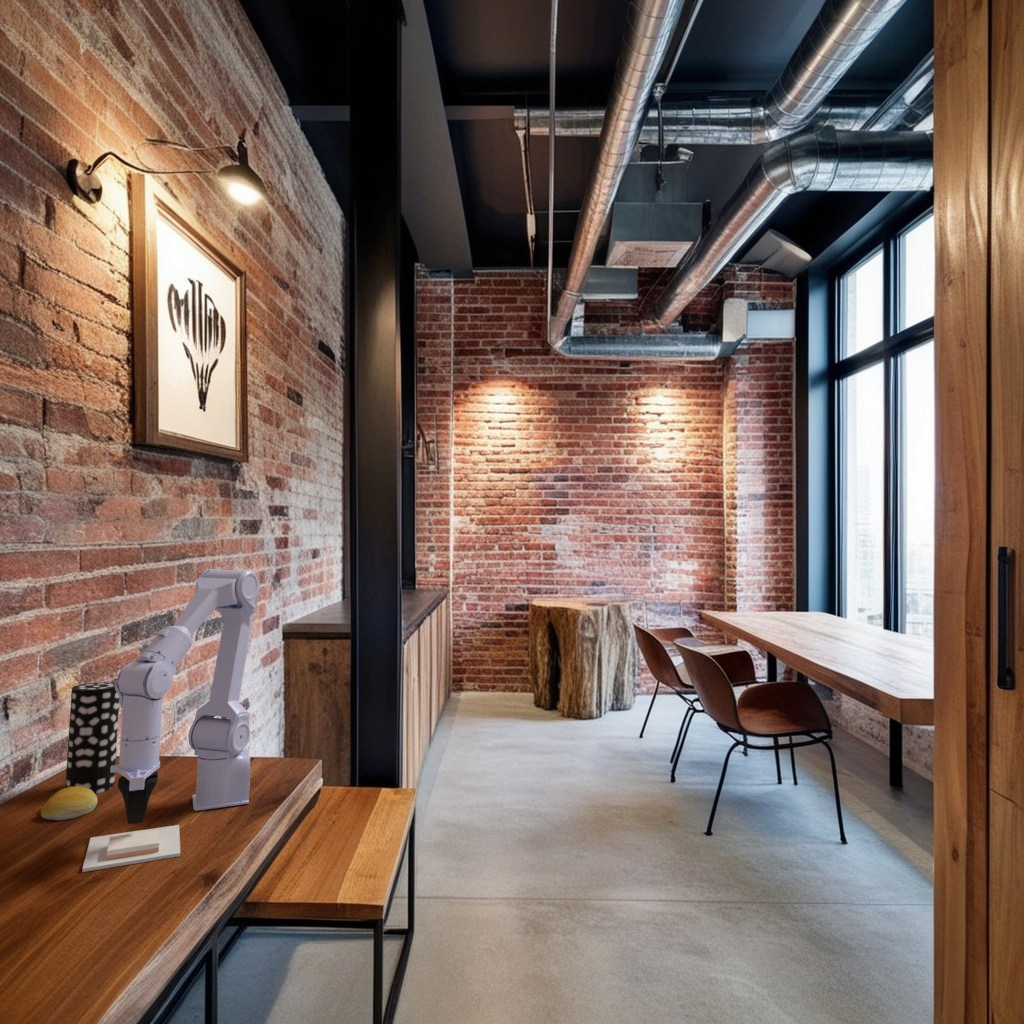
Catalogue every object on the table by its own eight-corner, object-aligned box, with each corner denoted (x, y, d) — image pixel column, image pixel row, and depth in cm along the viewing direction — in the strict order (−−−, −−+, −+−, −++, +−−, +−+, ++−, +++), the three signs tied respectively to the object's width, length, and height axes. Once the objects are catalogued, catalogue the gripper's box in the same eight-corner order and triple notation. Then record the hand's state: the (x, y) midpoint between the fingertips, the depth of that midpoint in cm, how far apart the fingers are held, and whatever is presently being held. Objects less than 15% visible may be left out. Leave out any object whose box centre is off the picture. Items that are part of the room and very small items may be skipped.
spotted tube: (122, 786, 135) (128, 685, 137) (77, 798, 128) (84, 692, 130) (101, 778, 140) (107, 680, 141) (56, 789, 133) (63, 686, 134)
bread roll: (35, 824, 117) (37, 801, 117) (50, 806, 125) (51, 784, 125) (90, 819, 119) (92, 796, 120) (101, 801, 128) (102, 779, 128)
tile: (159, 829, 111) (159, 842, 106) (158, 838, 110) (158, 852, 106) (109, 836, 107) (107, 850, 102) (109, 846, 107) (106, 860, 102)
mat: (179, 827, 116) (179, 824, 116) (180, 856, 105) (180, 852, 105) (90, 840, 110) (90, 837, 110) (82, 872, 100) (82, 868, 100)
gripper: (115, 728, 115) (110, 810, 114) (108, 751, 102) (103, 843, 101) (162, 724, 118) (157, 804, 117) (161, 746, 105) (156, 835, 104)
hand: (135, 822), depth 109 cm, fingers closed
